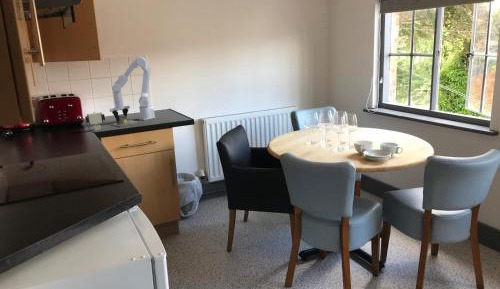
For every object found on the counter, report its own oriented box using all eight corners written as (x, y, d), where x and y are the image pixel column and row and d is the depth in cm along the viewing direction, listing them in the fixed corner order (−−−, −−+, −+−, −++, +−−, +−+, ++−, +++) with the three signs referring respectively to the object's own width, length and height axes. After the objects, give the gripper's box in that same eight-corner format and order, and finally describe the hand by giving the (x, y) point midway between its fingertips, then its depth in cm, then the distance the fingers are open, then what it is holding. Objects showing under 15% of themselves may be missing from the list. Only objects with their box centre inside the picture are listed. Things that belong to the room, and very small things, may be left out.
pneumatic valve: (106, 129, 268) (103, 111, 265) (88, 132, 264) (84, 113, 261) (105, 127, 273) (102, 110, 270) (87, 130, 268) (84, 112, 265)
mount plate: (129, 121, 290) (129, 116, 289) (138, 122, 282) (137, 117, 281) (111, 125, 281) (110, 120, 280) (120, 126, 272) (119, 121, 272)
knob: (123, 121, 294) (122, 113, 293) (127, 121, 290) (126, 114, 289) (116, 122, 290) (115, 115, 289) (120, 123, 286) (119, 115, 285)
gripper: (125, 99, 294) (127, 117, 298) (106, 102, 284) (109, 121, 288) (130, 99, 289) (132, 118, 293) (111, 103, 279) (114, 122, 283)
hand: (121, 120), depth 290 cm, fingers closed on knob, 5 cm apart
